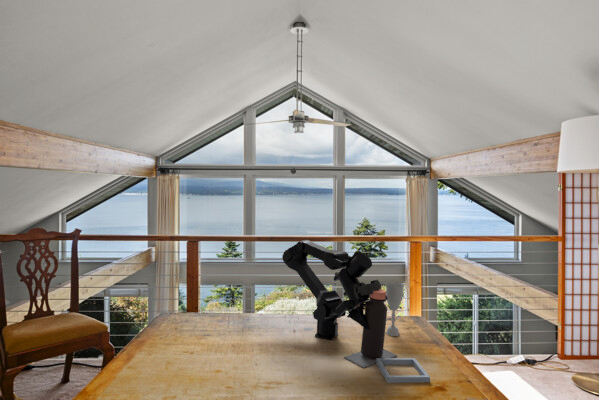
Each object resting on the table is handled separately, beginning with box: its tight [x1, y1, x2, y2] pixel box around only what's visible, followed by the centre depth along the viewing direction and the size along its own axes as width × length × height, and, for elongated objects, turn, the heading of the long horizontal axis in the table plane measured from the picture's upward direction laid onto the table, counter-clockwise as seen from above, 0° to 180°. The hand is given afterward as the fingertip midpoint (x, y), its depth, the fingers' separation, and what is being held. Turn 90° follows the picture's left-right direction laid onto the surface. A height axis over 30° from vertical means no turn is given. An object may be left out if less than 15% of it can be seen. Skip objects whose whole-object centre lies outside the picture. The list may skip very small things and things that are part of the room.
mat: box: [343, 348, 398, 369], centre depth 131 cm, size 8×15×1 cm, turn 127°
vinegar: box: [360, 288, 388, 358], centre depth 131 cm, size 7×7×20 cm
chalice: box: [384, 281, 405, 337], centre depth 152 cm, size 7×7×18 cm
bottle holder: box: [375, 357, 431, 384], centre depth 122 cm, size 12×12×2 cm
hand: (375, 329), depth 130 cm, fingers open, 4 cm apart
